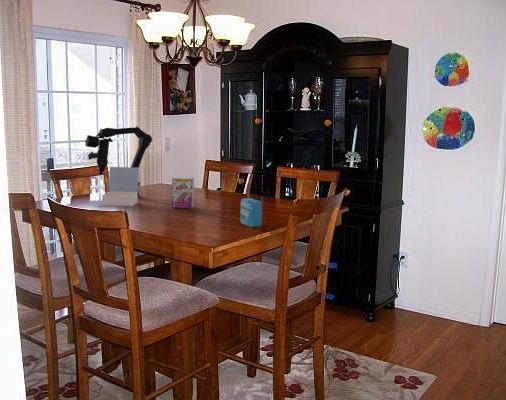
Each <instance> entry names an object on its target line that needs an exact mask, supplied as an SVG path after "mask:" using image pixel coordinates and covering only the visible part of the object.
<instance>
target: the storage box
mask: <svg viewBox="0 0 506 400" xmlns="http://www.w3.org/2000/svg"><path fill="white" fill-rule="evenodd" d="M101 198H102V199H101V200H102V202H101V203H102V207H119V208H120V207H122V208H123V207H125V208H127V207H128V208H132V207H134V206H135V205H136V204H137V203H138V201H139V200H138V196H137V192H111V191H109V190H108V191H107V192H105V193H104V194H102V195H101Z"/></svg>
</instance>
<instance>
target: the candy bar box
mask: <svg viewBox="0 0 506 400" xmlns="http://www.w3.org/2000/svg"><path fill="white" fill-rule="evenodd" d="M194 184H195V181H194V178H193V177H192V178H191V177H178V176H174V177H172V179H171V209H189V210H190V209H191V210H193V209H194V195H195V194H194V193H195V191H194V189H195V188H194V186H195V185H194Z"/></svg>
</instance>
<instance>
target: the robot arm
mask: <svg viewBox="0 0 506 400" xmlns="http://www.w3.org/2000/svg"><path fill="white" fill-rule="evenodd" d="M126 134H128V135H129V134H134V135H135V136H136V137H137V139H138V148H137V150H136V152H135V155H134V157H133V161H132V163H131V165H130V167H132V168H140V165H141V163H142V160H143V157H144V155H145V152H146V149H148V147H150V145H151V143H152V142H153V138H152V135H150V134H148V133H146V131H144V130H142V129H141V128H140V127H138V126H135V125H134V126H129V127H118V128H117V127H116V128H114V127H106V126H105V127H101V128H100V129H99V132H97V134H96V135H95V136H94V135H90V134H87V137H86V139H85V141H84V143H85V147H87V148H97V147H98V149H97V152H93V151H90V153H87V158H88V160H93V159H96V164H97V165H98V171H99V173H98V174H99V175H100V176H102V175H103V173H104V172H105V169H106V168H107V166H108V164H109V161H108V157H109V149H110V148H109V147H110V143H114V141H113V140H112V138H111V137H114V136H118V135H119V136H120V135H126ZM140 186H141V182H140V181H139V180H138V192H137V197H140V193H139V190H140V188H139V187H140Z"/></svg>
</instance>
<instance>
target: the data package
mask: <svg viewBox="0 0 506 400" xmlns="http://www.w3.org/2000/svg"><path fill="white" fill-rule="evenodd" d="M262 206H263V204H262V202H261V201H260V200H257V199H254V198H249V197H248V198H241V199H240V210H239V211H240V213H239V215H240V216H239V217H240V224H242V225H244V226H247V227H250V228H260V227H261V226H262V214H263V213H262V211H263V209H262V208H263V207H262Z"/></svg>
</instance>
